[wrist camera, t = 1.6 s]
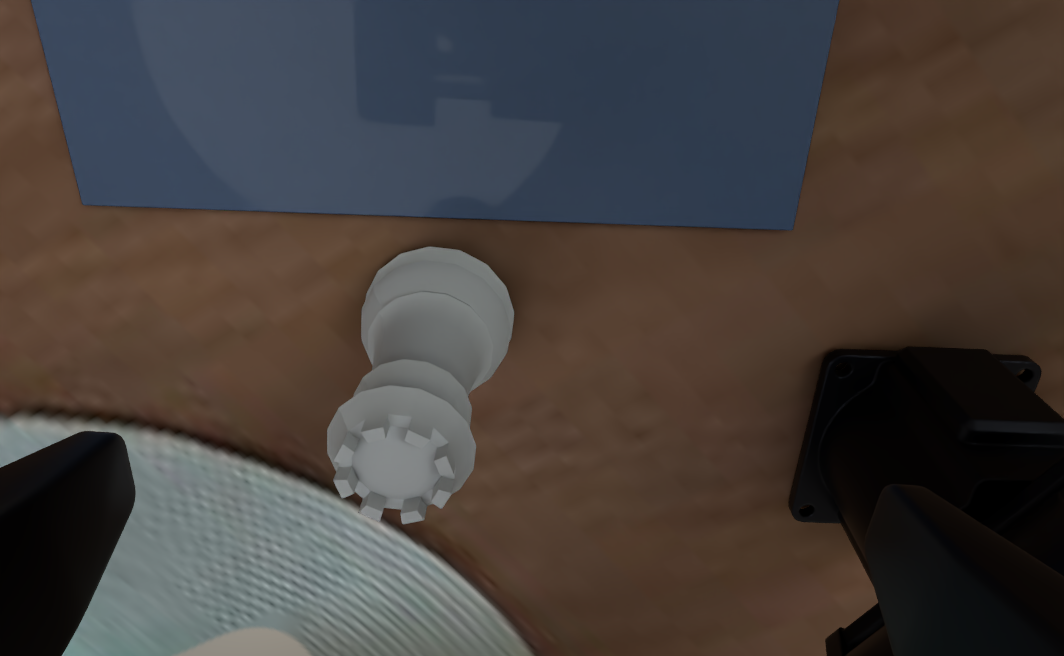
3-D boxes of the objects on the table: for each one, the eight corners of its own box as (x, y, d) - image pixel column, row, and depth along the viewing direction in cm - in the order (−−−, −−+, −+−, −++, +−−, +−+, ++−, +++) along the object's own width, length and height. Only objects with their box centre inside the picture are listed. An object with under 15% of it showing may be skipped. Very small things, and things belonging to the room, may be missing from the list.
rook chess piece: (338, 315, 23) (243, 485, 15) (427, 209, 21) (366, 342, 14) (453, 397, 24) (414, 588, 17) (545, 303, 22) (545, 470, 15)
